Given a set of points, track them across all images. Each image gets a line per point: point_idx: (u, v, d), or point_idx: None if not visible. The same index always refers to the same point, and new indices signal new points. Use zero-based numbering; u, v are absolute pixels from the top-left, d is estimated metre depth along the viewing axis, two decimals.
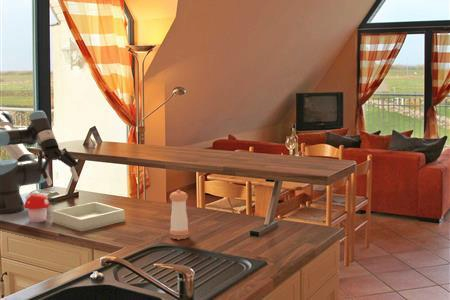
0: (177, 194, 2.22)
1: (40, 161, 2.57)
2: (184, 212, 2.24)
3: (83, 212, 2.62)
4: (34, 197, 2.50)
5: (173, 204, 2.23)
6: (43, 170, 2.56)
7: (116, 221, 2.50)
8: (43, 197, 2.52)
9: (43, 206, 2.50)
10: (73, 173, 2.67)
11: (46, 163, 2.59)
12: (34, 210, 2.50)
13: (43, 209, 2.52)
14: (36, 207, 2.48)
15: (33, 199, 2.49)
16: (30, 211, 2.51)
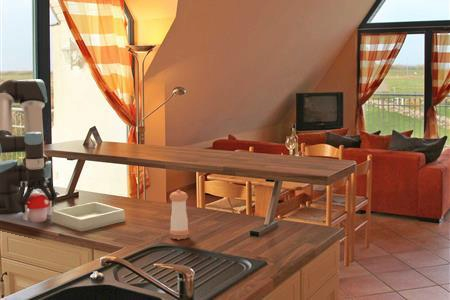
0: (177, 194, 2.22)
1: (22, 195, 2.46)
2: (184, 212, 2.24)
3: (83, 212, 2.62)
4: (34, 197, 2.50)
5: (173, 204, 2.23)
6: (23, 205, 2.47)
7: (116, 221, 2.50)
8: (43, 197, 2.52)
9: (43, 206, 2.50)
10: (48, 207, 2.57)
11: (27, 197, 2.48)
12: (35, 210, 2.50)
13: (43, 209, 2.52)
14: (36, 207, 2.48)
15: (33, 199, 2.49)
16: (30, 211, 2.51)
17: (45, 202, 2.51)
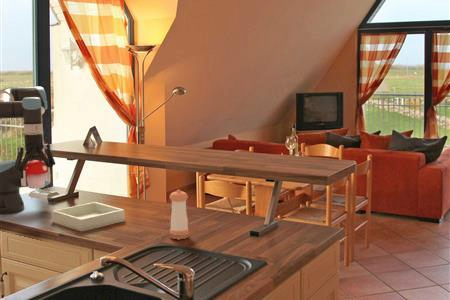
0: (177, 194, 2.22)
1: (20, 160, 2.44)
2: (184, 212, 2.24)
3: (83, 212, 2.62)
4: (32, 163, 2.48)
5: (173, 204, 2.23)
6: (21, 171, 2.45)
7: (116, 221, 2.50)
8: (41, 163, 2.50)
9: (42, 172, 2.48)
10: (46, 173, 2.55)
11: (25, 162, 2.46)
12: (33, 176, 2.48)
13: (41, 175, 2.50)
14: (34, 173, 2.46)
15: (31, 165, 2.47)
16: (28, 177, 2.49)
17: (43, 168, 2.49)
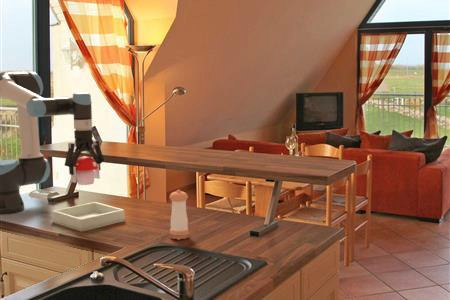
0: (177, 194, 2.22)
1: (70, 156, 2.42)
2: (184, 212, 2.24)
3: (83, 212, 2.62)
4: (82, 159, 2.46)
5: (173, 204, 2.23)
6: (71, 167, 2.43)
7: (116, 221, 2.50)
8: (91, 159, 2.48)
9: (92, 168, 2.45)
10: (95, 170, 2.53)
11: (76, 158, 2.44)
12: (83, 172, 2.46)
13: (91, 171, 2.48)
14: (85, 169, 2.44)
15: (82, 161, 2.45)
16: (78, 173, 2.46)
17: (93, 164, 2.46)
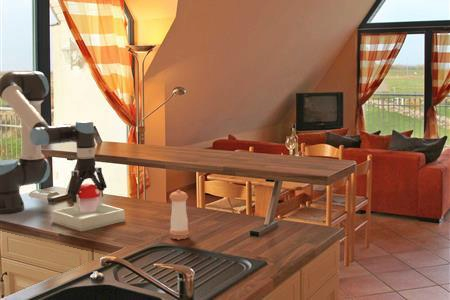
0: (177, 194, 2.22)
1: (73, 184, 2.43)
2: (184, 212, 2.24)
3: (83, 212, 2.62)
4: (85, 187, 2.47)
5: (173, 204, 2.23)
6: (74, 195, 2.45)
7: (116, 221, 2.50)
8: (94, 187, 2.50)
9: (95, 195, 2.47)
10: (98, 197, 2.55)
11: (79, 186, 2.46)
12: (86, 199, 2.48)
13: (94, 199, 2.50)
14: (88, 197, 2.46)
15: (84, 189, 2.47)
16: (81, 201, 2.48)
17: (96, 192, 2.48)
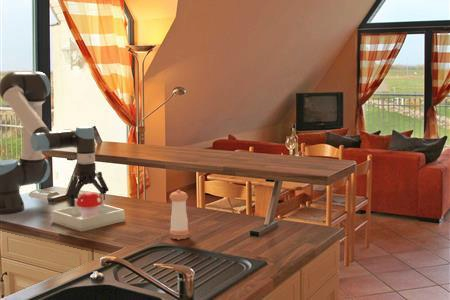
0: (177, 194, 2.22)
1: (72, 188, 2.43)
2: (184, 212, 2.24)
3: None
4: (87, 195, 2.49)
5: (173, 204, 2.23)
6: (72, 199, 2.44)
7: (116, 221, 2.50)
8: (95, 195, 2.51)
9: (96, 204, 2.49)
10: None
11: (77, 191, 2.45)
12: (87, 208, 2.49)
13: (95, 207, 2.51)
14: (89, 205, 2.47)
15: (86, 197, 2.48)
16: (83, 209, 2.49)
17: (98, 200, 2.49)
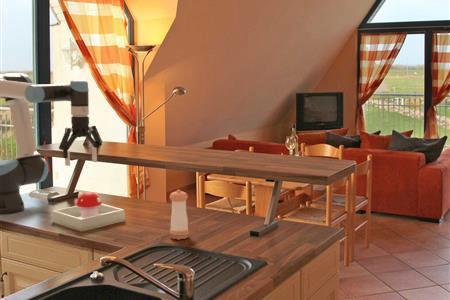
0: (177, 194, 2.22)
1: (65, 140, 2.48)
2: (184, 212, 2.24)
3: None
4: (87, 195, 2.49)
5: (173, 204, 2.23)
6: (65, 150, 2.49)
7: (116, 221, 2.50)
8: (95, 195, 2.51)
9: (96, 204, 2.49)
10: (93, 154, 2.60)
11: (71, 143, 2.50)
12: (87, 208, 2.49)
13: (95, 207, 2.51)
14: (89, 205, 2.47)
15: (86, 197, 2.48)
16: (83, 209, 2.49)
17: (98, 200, 2.49)
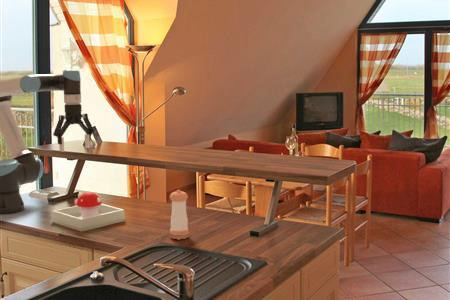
0: (177, 194, 2.22)
1: (59, 127, 2.60)
2: (184, 212, 2.24)
3: None
4: (87, 195, 2.49)
5: (173, 204, 2.23)
6: (59, 137, 2.61)
7: (116, 221, 2.50)
8: (95, 195, 2.51)
9: (96, 204, 2.49)
10: (86, 140, 2.72)
11: (64, 129, 2.62)
12: (87, 208, 2.49)
13: (95, 207, 2.51)
14: (89, 205, 2.47)
15: (86, 197, 2.48)
16: (83, 209, 2.49)
17: (98, 200, 2.49)
